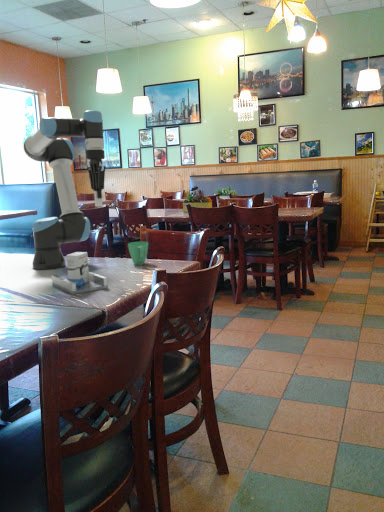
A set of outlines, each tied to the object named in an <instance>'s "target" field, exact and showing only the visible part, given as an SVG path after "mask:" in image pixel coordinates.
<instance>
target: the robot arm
mask: <svg viewBox="0 0 384 512" xmlns="http://www.w3.org/2000/svg"><path fill="white" fill-rule="evenodd" d="M103 126H104V125H103V113H102V112H101V111H100V110H95V109H93V110H85V111H83V118H69V117H52V116H48V117H47V116H46V117H41V119H40V120H39V129H38V130H37V131H36V132H35V133H34V134H33V135H30V136H28V137H27V138H26V139H25V140H24V142H23V152H24V153H25V155H26V156H28V157H29V158H30V159H32V160H33V161H36V162H41V163H43V162H44V163H45V162H48V167H49V168H51V169H52V171H53V174H54V175H53V176H54V181H55V185H56V186H55V187H56V190H57V195H58V202H59V205H60V206H59V207H60V210H61V213H60V215H59V217H58V216H50V217H43V218H40V219H37V220H35V221H34V222H33V224H32V233H33V243H34V257H33V260H32V269H34V270H51V269H52V270H54V269H59V268H63V267H65V266H67V262H66V259H65V257H64V255H63V252H62V249H61V244H69V243H80V242H84V241H86V240H88V238H89V237H90V233H91V222H90V219H89V217H87V216H85V215H84V212H83V211H81V210H80V206H79V202H78V197H77V192H76V188H75V183H74V177H73V174H72V169H71V166H72V165H73V164H74V163H73V162H74V160H75V157H76V154H75V152H76V151H75V147H74V145H73V142H72V141H71V140H70V139H69V138H80V139H85V140H84V144H85V149H86V151H85V156H86V157H85V158H86V159H87V160H89V166H87V171H88V177H89V183H90V188H91V190H92V191H93V195H94V207H103V193H102V191H103V190H104V189H105V176H106V175H105V174H106V165H103V160H104V159H105V158H106V157H105V150H104V149H105V139H104V127H103ZM64 137H65V138H64ZM66 137H67V138H66ZM68 137H69V138H68Z"/></svg>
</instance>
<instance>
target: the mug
mask: <svg viewBox="0 0 384 512" xmlns="http://www.w3.org/2000/svg"><path fill="white" fill-rule="evenodd" d="M127 248H128V252H129V254H130V257H131V259H132V263H133V264H134V265H138V264H139V265H144V264H145V262H146V258H147V255H148V250H149V242H148V241H133V242H128V243H127ZM143 263H144V264H143ZM139 265H138V266H139Z"/></svg>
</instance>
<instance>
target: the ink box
mask: <svg viewBox="0 0 384 512" xmlns="http://www.w3.org/2000/svg"><path fill="white" fill-rule="evenodd" d="M65 257H66V267H67V268H66V269H67V280H69V281H72V282H74V283H76V286H81V285H83V284H85V283H87V282H89V272H90V271H89V259H88V257H89V256H88V252H87V251H75V252H72V253H69V254H66V256H65Z"/></svg>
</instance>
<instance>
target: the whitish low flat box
mask: <svg viewBox="0 0 384 512" xmlns="http://www.w3.org/2000/svg"><path fill="white" fill-rule="evenodd" d="M51 282H52V286H53V287H54V288H55V287H56V288H57V287H58V289H59V288H60V289H59V290H61V291H64V292H66V291H67V292H66V293H68V292H69V293H68V294H70V293H71V294H70V295H72V294H74V295H78V294H77V293H79V294H83V293H88V292H93V291H99V290H106V289H109V285H108V277H106V276H104V275H101V274H98V273H95V272H92V271H89V282H87V283H85V284H83V285H81V286H76V283H74V282H72V281H69V280H68V278H64V277H62V276H60V275H57V274H51Z"/></svg>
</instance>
